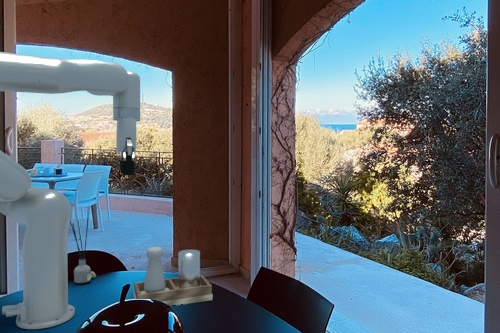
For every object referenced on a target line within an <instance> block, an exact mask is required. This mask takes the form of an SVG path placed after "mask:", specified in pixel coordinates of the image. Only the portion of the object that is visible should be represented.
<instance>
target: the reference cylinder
mask: <svg viewBox="0 0 500 333" xmlns="http://www.w3.org/2000/svg"><path fill="white" fill-rule="evenodd" d="M177 256H178V257H177V258H178V260H177V261H178V263H177V264H178V272H177V273H178V275H177V276H178V289H182V288H189V287H197V286H200V275H201V251H200V250H199V249H198V250H197V249H182V250H180V251H179V252H178V255H177Z"/></svg>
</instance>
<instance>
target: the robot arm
mask: <svg viewBox="0 0 500 333" xmlns="http://www.w3.org/2000/svg"><path fill="white" fill-rule="evenodd" d="M0 92H10V93H12V92H13V93H31V94H33V93H34V94H46V95H47V94H48V95H52V94H53V95H54V94H66V93H72V92H87V93H89V94H91V95H93V96H97V97H98V96H104V97H105V96H107V97H108V96H111V97H112V118H113V121H115V122H116V137H115V139H116V142H115V143H116V144H115V145H116V148H115V149H116V152H115V153H116V154H117V155H120V159H119V172H120V174H121V175H122V176H135V174H136V167H135V166H136V162H135V154H136V152H137V122H141V77H140V75H139V74H138V73H136V72H134V71H127V69H126V68H125V67H124V66H123V65H121V64H119V63H116V62H110V61H103V60H102V61H101V60H95V59H79V58H64V57H63V58H60V57H59V58H57V57H56V58H55V57H46V56H36V55H29V54H28V55H27V54H20V53H12V52H5V51H4V52H3V51H0ZM32 183H33V181H32V176H31V174H30V173H29V172H28V171H27V169H26V168H25V167H23V165H21V164H19V163H18V162H16V160H14V159H12V157H10V156H9V155H7V154H6V153H4V152H3V151H2V150H1V149H0V213H1V214H2V215H4V216H6V217H7V218H9V219H11V220H12V221H13V222H14V221H15V223H18V224H21V225H25V231H24V234H23V235H24V236H23V240H22V241H23V242H22V282H23V283H22V285H23V287H22V291H23V292H22V293H23V294H22V295H23V300H22V302H18V303H17V304H14V305H13V304H10V305H3V306H2V308H1V314H2V315H5V317H6V318H7V317H8V318H9V317H15V316H16V320H15V325H16V326H17V327H19V328H21V329H24V330H25V329H26V330H41V329H48V328H51V327H55V326H59V325H61V324H64V323H66V322H67V321H69V320H71V319H72V318H73V317H74V316H75V313H76V310H75V309H76V308H75V307H74V306H73V305H71V304H69V300H68V299H69V294H68V293H69V289H68V288H69V286H68V285H69V284H68V282H69V280H68V279H69V278H68V274H69V272H68V270H69V269H68V234H69V233H68V232H69V225H70V221H71V220H70V219H71V213H72V212H71V211H72V210H71V204H70V201H69V199H68V198H67V197H66V196H65V195H64V194H63V193H61V192H60V191H58V190H55V189H51V188H44V187H43V188H42V187H36V186H34V185H33V184H32Z"/></svg>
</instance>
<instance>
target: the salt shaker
mask: <svg viewBox="0 0 500 333" xmlns="http://www.w3.org/2000/svg"><path fill="white" fill-rule="evenodd" d="M163 253H164V252H163V248H162V247H160V246H152V247H148V248H147V249H146V257H147V258H148V260H147V267H146V273H145V278H144V282H145V283H144V290H145V292H146V293H153V292H160V291H164V290H165V287H166V285H165V279H166V278H165V275H164V274H165V273H164V268H163V262H162V257H163V255H164V254H163Z"/></svg>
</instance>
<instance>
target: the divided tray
mask: <svg viewBox="0 0 500 333" xmlns="http://www.w3.org/2000/svg"><path fill="white" fill-rule="evenodd" d="M164 279H165V285H166V287H165V290H164V291H160V292H153V293H146V292H145V290H144V283H145V281H140V282H139V281H138V282H133V292H132V293H133V299H134V298H135V299H152V300H157V301H161V302H163V303H165V304H167V305H170V307H173V306H172V305H176V306H181V304H183V305H188V304H194V303H200V302H201V303H202V302H208V301H213V297H214V296H213V293H212V292H213V290H212V289H213V288H212V287H213V285H212V284H211V283H210V282H209V281H208V279H207V278H206V277H205V276H204V275H203V274H201V273H200V286H197V287H189V288H182V289H178V277H170V278H164Z"/></svg>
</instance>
